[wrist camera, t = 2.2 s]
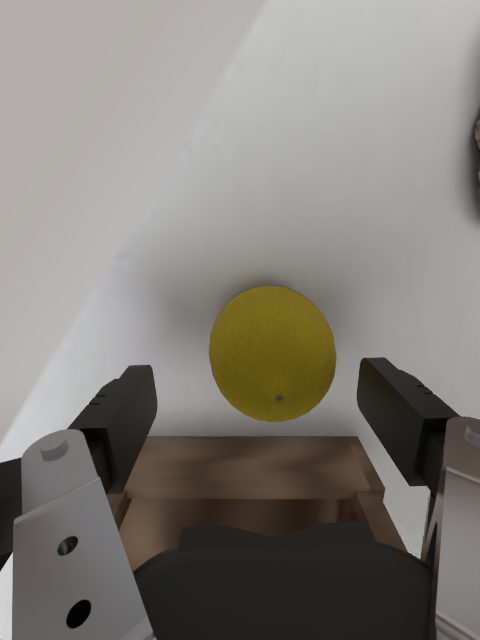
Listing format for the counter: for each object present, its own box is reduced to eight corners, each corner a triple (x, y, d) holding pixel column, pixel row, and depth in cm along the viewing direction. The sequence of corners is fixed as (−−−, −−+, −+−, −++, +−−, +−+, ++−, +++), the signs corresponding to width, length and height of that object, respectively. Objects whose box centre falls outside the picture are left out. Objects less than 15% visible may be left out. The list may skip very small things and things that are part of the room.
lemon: (219, 270, 16) (196, 310, 8) (317, 277, 16) (385, 323, 8) (215, 358, 17) (193, 460, 10) (304, 364, 18) (349, 470, 10)
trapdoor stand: (357, 436, 19) (476, 659, 9) (337, 572, 24) (404, 820, 14) (69, 436, 20) (-109, 650, 10) (103, 570, 24) (4, 809, 14)
